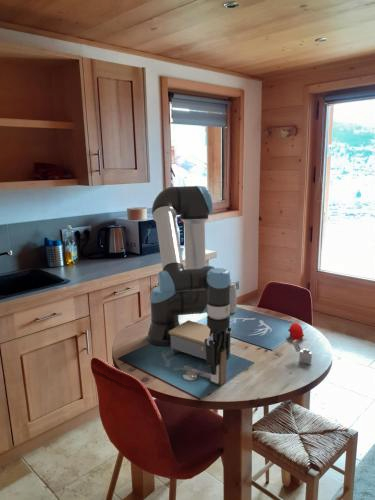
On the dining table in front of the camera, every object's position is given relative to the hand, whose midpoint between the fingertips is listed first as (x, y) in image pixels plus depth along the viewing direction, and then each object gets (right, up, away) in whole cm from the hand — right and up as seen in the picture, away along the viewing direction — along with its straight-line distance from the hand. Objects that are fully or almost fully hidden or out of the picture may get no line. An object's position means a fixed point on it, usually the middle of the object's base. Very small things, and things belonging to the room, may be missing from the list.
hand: (218, 378), depth 132 cm
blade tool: (-5, 0, +4) cm, 6 cm away
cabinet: (-5, +3, +19) cm, 20 cm away
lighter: (+33, +2, +13) cm, 35 cm away
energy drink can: (+11, +13, +62) cm, 65 cm away
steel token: (-10, -1, +4) cm, 10 cm away
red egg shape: (+36, +6, +33) cm, 49 cm away
